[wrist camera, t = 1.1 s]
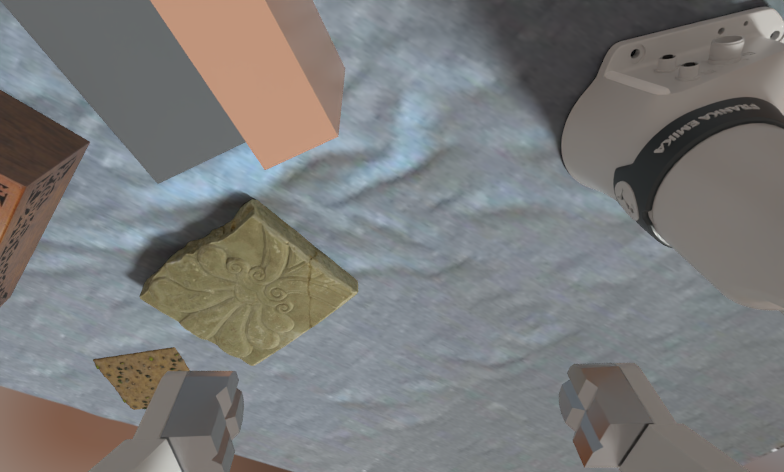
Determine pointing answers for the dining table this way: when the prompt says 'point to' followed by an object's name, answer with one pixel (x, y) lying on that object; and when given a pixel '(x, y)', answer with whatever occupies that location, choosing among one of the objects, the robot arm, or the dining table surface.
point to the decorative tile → (249, 285)
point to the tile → (264, 69)
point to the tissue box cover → (30, 182)
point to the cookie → (140, 373)
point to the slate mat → (133, 79)
